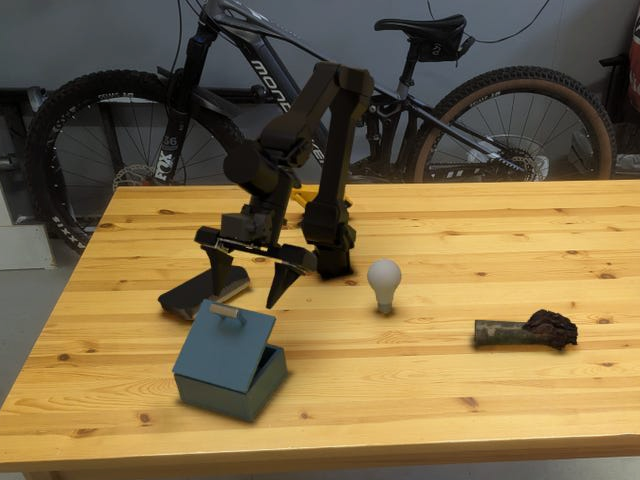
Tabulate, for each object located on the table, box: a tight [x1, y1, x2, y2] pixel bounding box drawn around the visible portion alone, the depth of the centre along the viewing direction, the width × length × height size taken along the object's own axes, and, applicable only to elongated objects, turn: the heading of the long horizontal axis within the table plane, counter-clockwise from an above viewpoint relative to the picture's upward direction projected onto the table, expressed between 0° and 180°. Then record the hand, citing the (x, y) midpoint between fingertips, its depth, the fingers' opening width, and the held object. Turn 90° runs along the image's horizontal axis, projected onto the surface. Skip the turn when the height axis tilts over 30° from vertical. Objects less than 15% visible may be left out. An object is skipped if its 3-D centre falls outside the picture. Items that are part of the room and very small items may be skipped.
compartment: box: [173, 342, 289, 423], centre depth 105 cm, size 12×13×6 cm
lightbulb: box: [366, 258, 402, 314], centre depth 119 cm, size 6×6×11 cm
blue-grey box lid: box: [171, 299, 278, 393], centre depth 99 cm, size 12×13×5 cm
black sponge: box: [157, 264, 251, 321], centre depth 124 cm, size 16×8×4 cm, turn 143°
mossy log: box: [473, 308, 579, 352], centre depth 115 cm, size 18×7×6 cm, turn 87°
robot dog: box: [278, 165, 354, 227], centre depth 143 cm, size 6×18×13 cm, turn 84°
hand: (241, 302), depth 102 cm, fingers open, 9 cm apart
